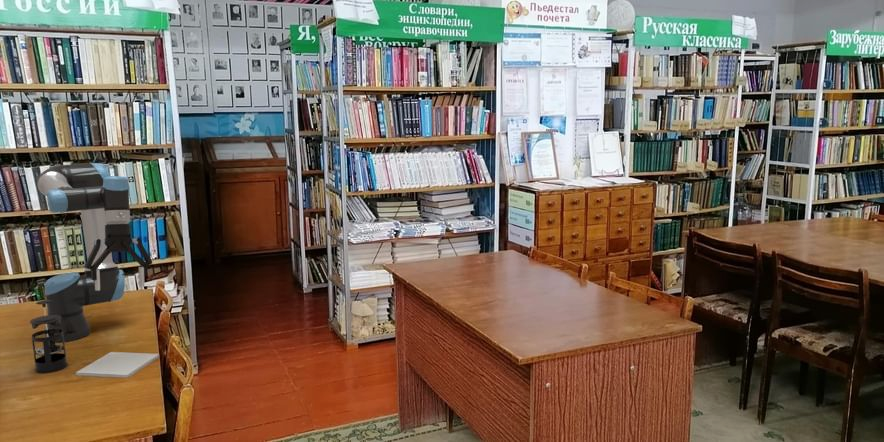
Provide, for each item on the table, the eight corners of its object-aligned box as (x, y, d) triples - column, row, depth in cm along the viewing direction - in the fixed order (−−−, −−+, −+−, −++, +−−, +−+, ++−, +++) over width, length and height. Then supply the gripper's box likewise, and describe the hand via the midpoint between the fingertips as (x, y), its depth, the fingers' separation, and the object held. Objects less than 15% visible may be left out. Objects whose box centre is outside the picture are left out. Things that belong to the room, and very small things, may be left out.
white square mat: (111, 354, 230) (111, 351, 229) (159, 356, 227) (158, 353, 227) (76, 375, 212) (75, 372, 212) (127, 377, 209) (127, 374, 209)
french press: (65, 371, 216) (57, 303, 212) (32, 376, 212) (23, 307, 208) (70, 358, 226) (62, 294, 222) (38, 363, 223) (30, 297, 219)
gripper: (78, 224, 204) (81, 292, 204) (160, 222, 221) (163, 285, 221) (72, 225, 210) (74, 291, 209) (152, 223, 227) (155, 284, 226)
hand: (120, 288), depth 215 cm, fingers open, 13 cm apart
